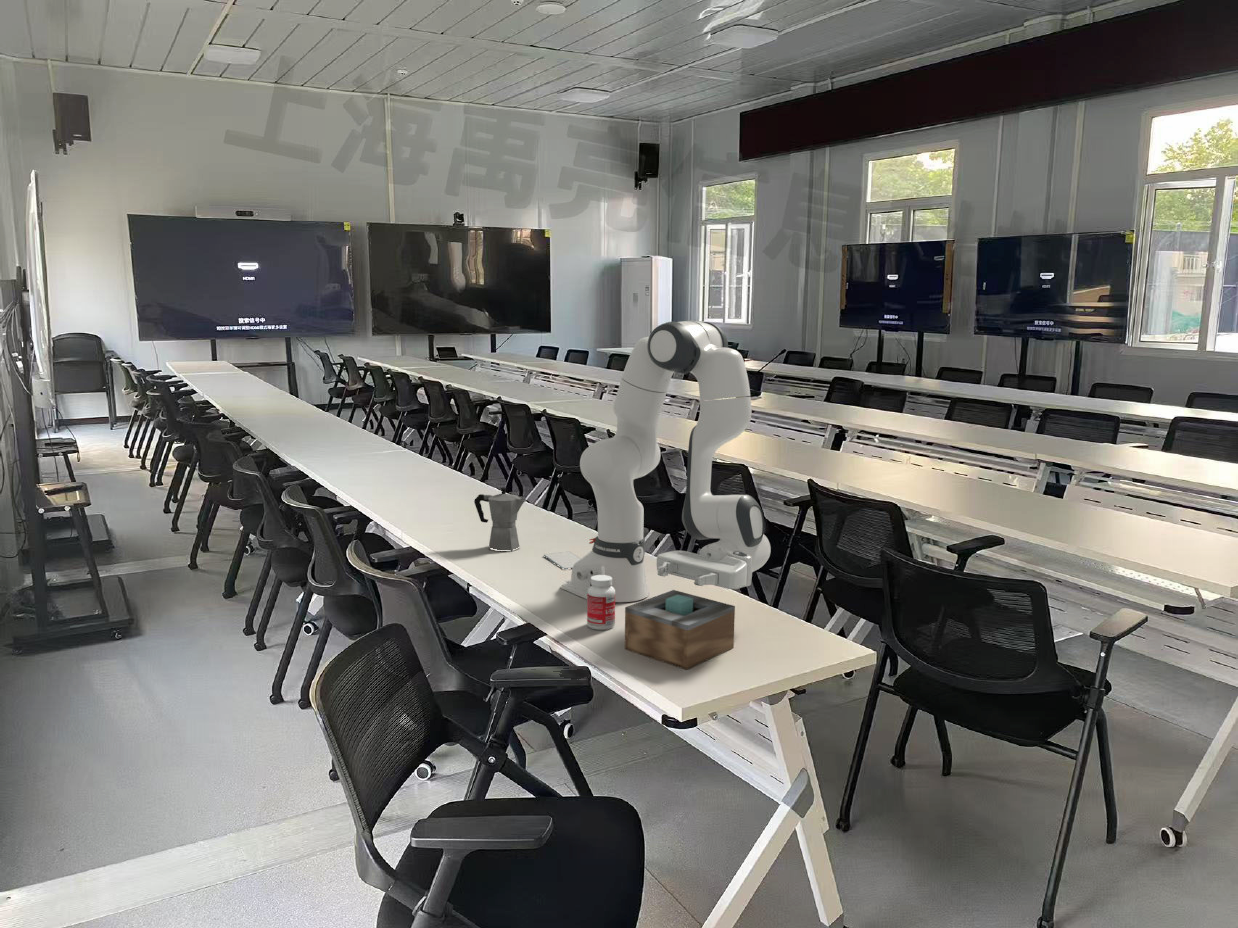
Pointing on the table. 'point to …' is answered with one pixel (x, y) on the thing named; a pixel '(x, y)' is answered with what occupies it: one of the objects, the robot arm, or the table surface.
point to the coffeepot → (501, 518)
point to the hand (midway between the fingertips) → (678, 576)
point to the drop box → (679, 630)
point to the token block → (679, 605)
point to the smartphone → (563, 559)
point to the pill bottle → (601, 603)
